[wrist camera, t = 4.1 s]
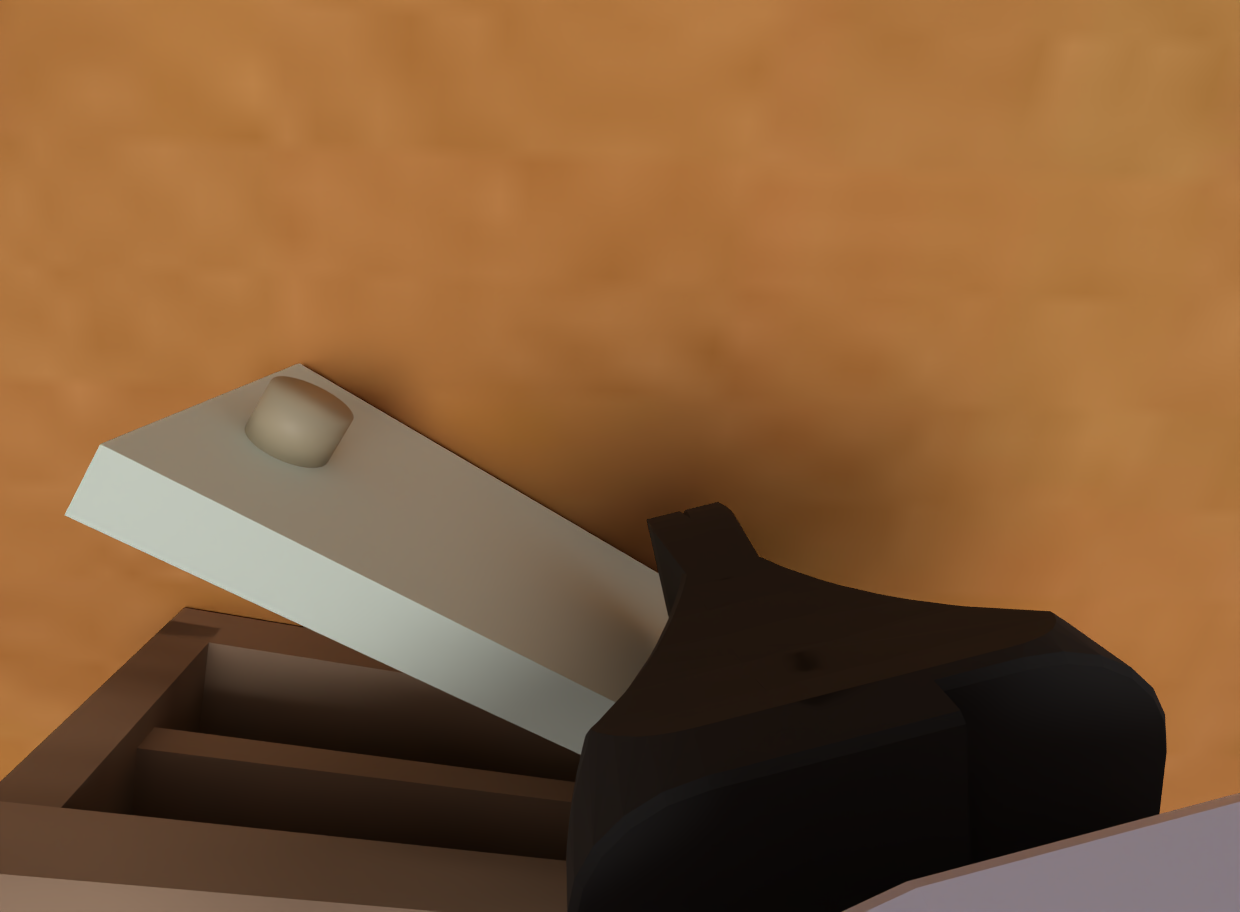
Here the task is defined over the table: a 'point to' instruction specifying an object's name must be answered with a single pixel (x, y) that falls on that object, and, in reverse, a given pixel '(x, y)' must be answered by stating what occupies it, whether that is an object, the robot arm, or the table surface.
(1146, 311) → the table surface
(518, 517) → the cabinet door
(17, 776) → the walnut cabinet
